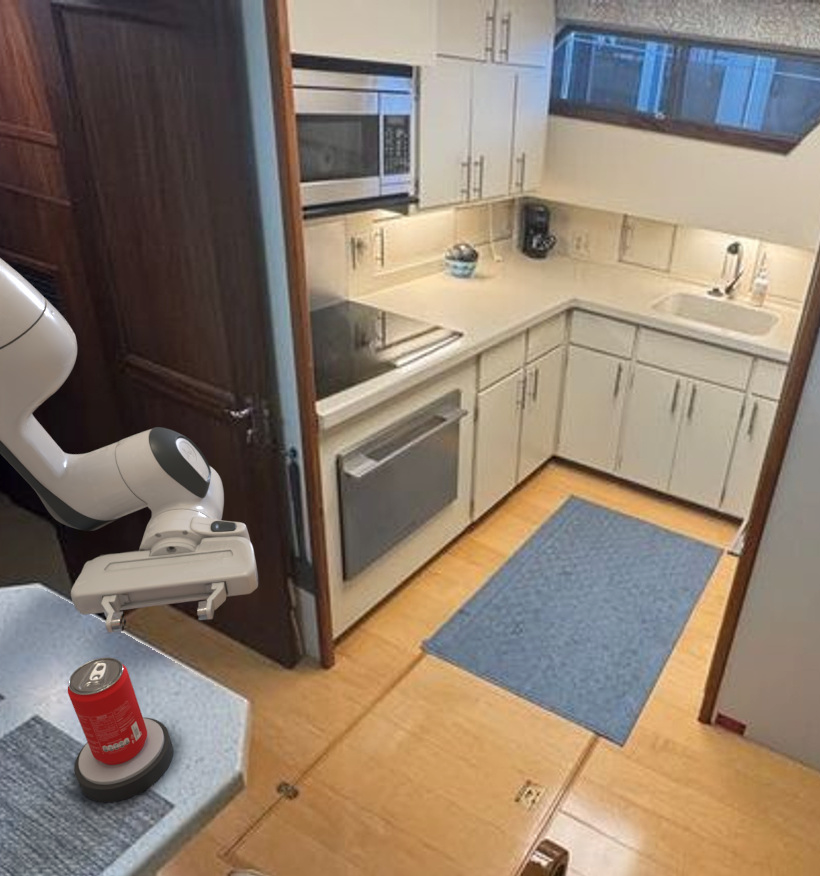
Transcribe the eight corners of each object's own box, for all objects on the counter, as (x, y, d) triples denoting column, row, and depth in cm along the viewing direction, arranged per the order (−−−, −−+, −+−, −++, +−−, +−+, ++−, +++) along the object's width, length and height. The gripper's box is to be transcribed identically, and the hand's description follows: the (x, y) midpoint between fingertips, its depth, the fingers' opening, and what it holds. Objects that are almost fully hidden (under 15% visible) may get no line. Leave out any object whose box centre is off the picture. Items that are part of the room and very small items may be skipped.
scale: (71, 757, 79) (64, 741, 77) (160, 717, 85) (155, 701, 83) (89, 818, 74) (82, 802, 72) (183, 771, 79) (178, 755, 78)
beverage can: (87, 772, 75) (56, 699, 69) (103, 730, 79) (76, 658, 73) (141, 764, 76) (116, 692, 70) (154, 724, 80) (132, 653, 74)
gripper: (81, 538, 89) (47, 616, 78) (257, 521, 95) (249, 591, 84) (94, 575, 92) (63, 655, 81) (263, 556, 99) (256, 627, 88)
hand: (160, 622), depth 83 cm, fingers open, 8 cm apart
